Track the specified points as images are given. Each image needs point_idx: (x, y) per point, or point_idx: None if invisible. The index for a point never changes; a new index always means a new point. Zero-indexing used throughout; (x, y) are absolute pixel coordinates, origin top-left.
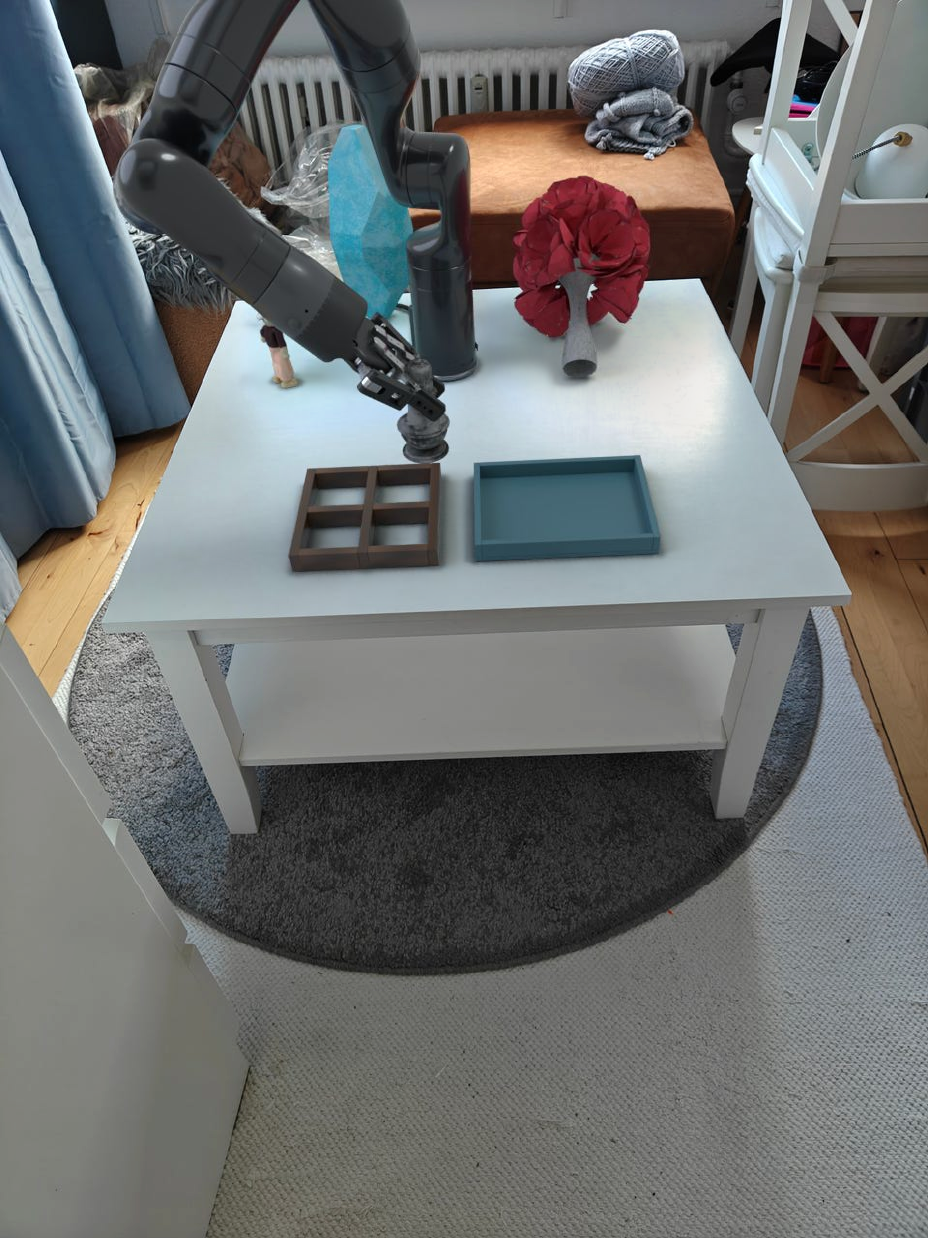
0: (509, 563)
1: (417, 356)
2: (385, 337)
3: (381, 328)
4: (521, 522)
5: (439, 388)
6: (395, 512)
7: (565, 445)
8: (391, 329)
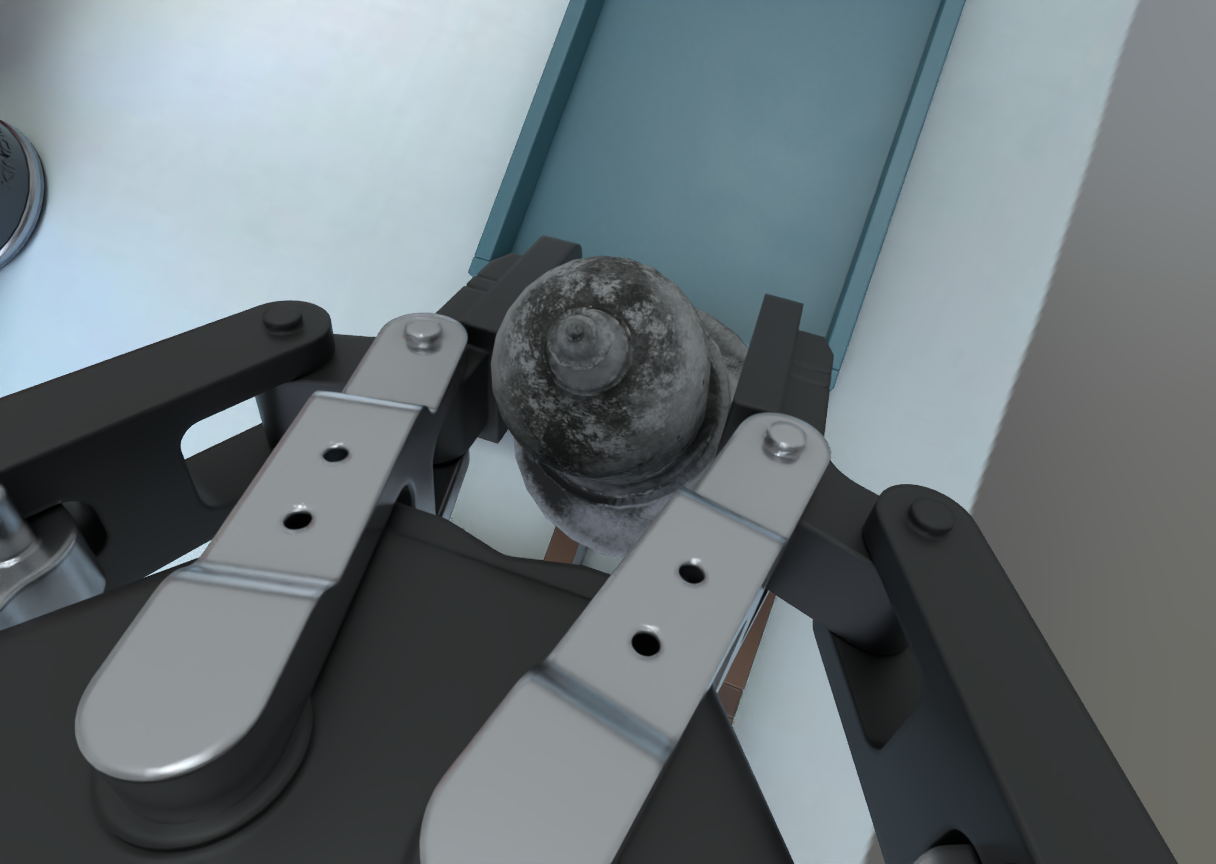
0: (863, 319)
1: (602, 336)
2: (316, 617)
3: (151, 639)
4: (730, 235)
5: None
6: (578, 550)
7: (451, 23)
8: (54, 434)
